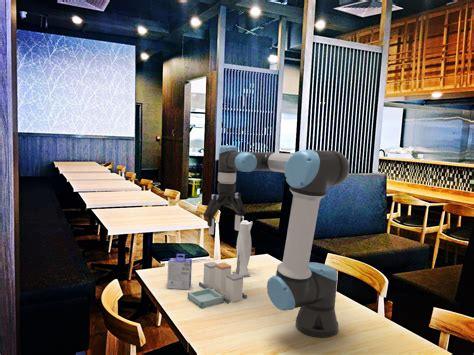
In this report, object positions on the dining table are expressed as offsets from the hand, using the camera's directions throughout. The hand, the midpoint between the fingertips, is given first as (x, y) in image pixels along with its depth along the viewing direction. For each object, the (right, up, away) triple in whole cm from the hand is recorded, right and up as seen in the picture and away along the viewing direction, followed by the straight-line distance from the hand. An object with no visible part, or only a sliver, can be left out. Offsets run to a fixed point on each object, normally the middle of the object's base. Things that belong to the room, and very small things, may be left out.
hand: (224, 232), depth 172 cm
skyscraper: (+8, -24, +26) cm, 36 cm away
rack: (-1, -26, +3) cm, 26 cm away
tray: (-8, -27, -7) cm, 29 cm away
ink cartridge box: (-20, -25, +6) cm, 33 cm away
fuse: (-1, -26, +3) cm, 26 cm away
